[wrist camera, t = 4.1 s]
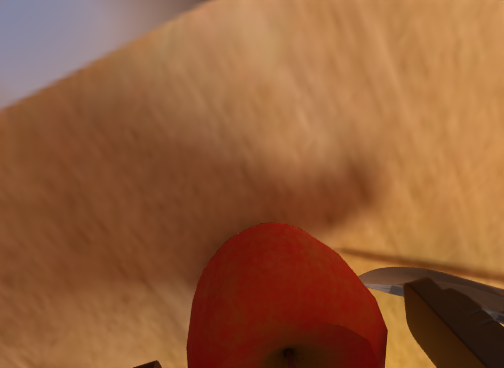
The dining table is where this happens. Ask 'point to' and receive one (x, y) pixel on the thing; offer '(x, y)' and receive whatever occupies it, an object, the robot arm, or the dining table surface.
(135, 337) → the dining table surface
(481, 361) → the robot arm
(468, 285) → the knife
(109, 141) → the dining table surface
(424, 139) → the dining table surface
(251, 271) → the apple
